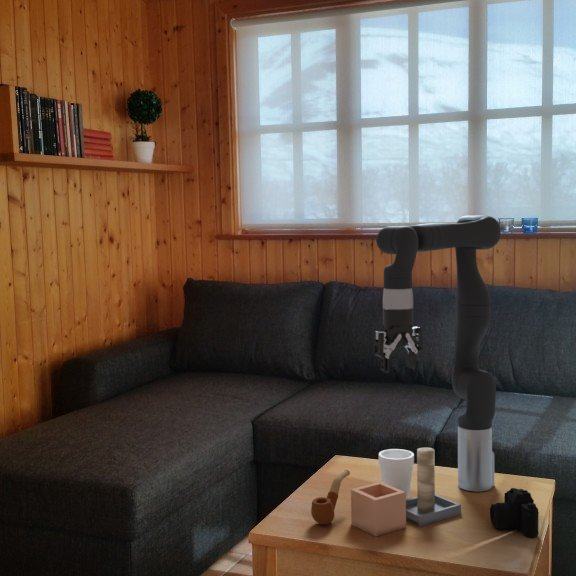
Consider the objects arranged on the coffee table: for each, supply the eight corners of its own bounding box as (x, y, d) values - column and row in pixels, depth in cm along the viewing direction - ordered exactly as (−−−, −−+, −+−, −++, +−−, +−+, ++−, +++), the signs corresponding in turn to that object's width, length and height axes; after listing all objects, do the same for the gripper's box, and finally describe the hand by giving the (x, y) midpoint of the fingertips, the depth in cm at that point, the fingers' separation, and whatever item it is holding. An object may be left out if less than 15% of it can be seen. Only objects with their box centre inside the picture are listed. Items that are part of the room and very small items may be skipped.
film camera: (482, 516, 202) (482, 482, 201) (519, 514, 203) (519, 480, 202) (503, 540, 187) (503, 503, 186) (543, 538, 188) (543, 501, 187)
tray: (431, 501, 213) (431, 492, 213) (461, 513, 204) (461, 504, 204) (391, 513, 205) (391, 503, 205) (420, 526, 196) (420, 516, 196)
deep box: (381, 515, 204) (380, 481, 203) (406, 527, 196) (405, 492, 195) (351, 524, 199) (350, 489, 198) (375, 536, 191) (375, 500, 190)
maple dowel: (426, 506, 208) (426, 446, 206) (438, 511, 204) (438, 450, 202) (413, 509, 205) (413, 449, 204) (425, 515, 202) (425, 453, 200)
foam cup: (413, 508, 208) (412, 460, 207) (378, 506, 210) (377, 458, 209) (414, 495, 218) (414, 449, 217) (381, 494, 220) (380, 448, 218)
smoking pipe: (332, 531, 196) (310, 529, 198) (353, 487, 212) (332, 486, 214) (328, 507, 194) (305, 505, 196) (349, 465, 210) (328, 463, 212)
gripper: (409, 302, 205) (410, 364, 206) (366, 307, 197) (367, 371, 198) (429, 305, 198) (430, 369, 200) (385, 309, 191) (386, 376, 192)
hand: (398, 370), depth 199 cm, fingers open, 8 cm apart
